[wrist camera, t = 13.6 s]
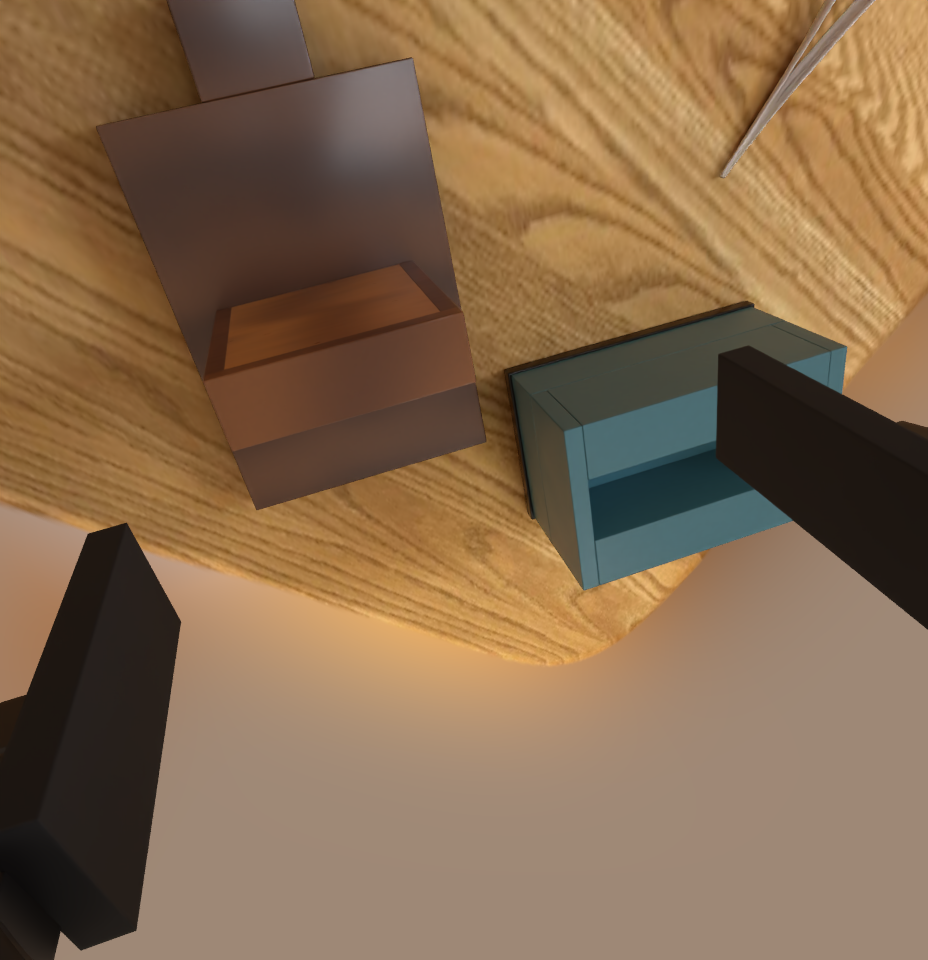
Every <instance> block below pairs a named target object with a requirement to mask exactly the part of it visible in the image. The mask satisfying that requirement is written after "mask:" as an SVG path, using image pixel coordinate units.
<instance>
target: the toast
mask: <svg viewBox="0 0 928 960" xmlns="http://www.w3.org/2000/svg"><path fill="white" fill-rule="evenodd" d="M475 382H476V377H475V372H474V366H473V361H472V356H471V351H470V345H469V340H468V335H467V330H466V325H465V319H464V314H463V312H462V310H461V309H460V308H459V307H458V306H457V305H456V304H455V303H454V302H453V301H452V300H451V299H450V298H449V297H448V296H447V295H446V294H445V293H444V292H443V291H442V290H441V289H440V288H439V287H438V286H437V285H436V284H435V283H434V282H433V281H432V280H431V279H430V278H429V277H428V276H427V275H426V274H425V273H424V272H423V271H422V270H421V269H420V268H419V267H418V266H417V265H416V263H415V262H414V261H409V262H405V263H401V264H398V265H394V266H390V267H386V268H383V269H379V270H375V271H371V272H367V273H363V274H359V275H355V276H351V277H348V278H344V279H340V280H336V281H332V282H328V283H324V284H320V285H317V286H313V287H309V288H305V289H301V290H297V291H293V292H289V293H286V294H282V295H278V296H274V297H270V298H266V299H262V300H258V301H254V302H251V303H247V304H243V305H239V306H235V307H230V308H226V309H222V310H218V311H216V315H215V321H214V326H213V331H212V336H211V341H210V347H209V352H208V357H207V362H206V367H205V373H204V378H203V384H204V386H205V389H206V391H207V394H208V396H209V398H210V401H211V403H212V406H213V408H214V410H215V413H216V415H217V417H218V420H219V422H220V425H221V427H222V429H223V432H224V434H225V436H226V439H227V441H228V444H229V446H230V448H231V450H232V451H236V450H240V449H243V448H247V447H250V446H254V445H257V444H261V443H264V442H268V441H271V440H275V439H278V438H282V437H285V436H289V435H292V434H296V433H300V432H303V431H307V430H310V429H314V428H317V427H321V426H324V425H328V424H331V423H335V422H338V421H342V420H345V419H349V418H352V417H356V416H359V415H363V414H366V413H370V412H373V411H377V410H380V409H384V408H387V407H391V406H394V405H398V404H401V403H405V402H408V401H412V400H415V399H419V398H422V397H426V396H429V395H433V394H436V393H440V392H443V391H447V390H450V389H454V388H457V387H461V386H464V385H468V384H471V383H475Z"/></svg>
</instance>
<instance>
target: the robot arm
mask: <svg viewBox="0 0 928 960" xmlns="http://www.w3.org/2000/svg"><path fill="white" fill-rule="evenodd" d="M716 458H717V459H718V460H719V461H720V462H722V463H723V464H724V465H725V466H727V467H728V468H729V469H730V470H732V471H733V472H734V473H735V474H736V475H738V476H739V477H740V478H741V479H743V480H744V481H745V482H746V483H748V484H749V485H750V486H751V487H752V488H754V489H755V490H756V491H757V492H759V493H760V494H761V495H762V496H764V497H765V498H766V499H767V500H769V501H770V502H771V503H772V504H773V505H775V506H776V507H777V508H778V509H780V510H781V511H782V512H783V513H785V514H786V515H787V516H788V517H789V518H791V519H792V520H793V521H794V522H796V523H797V524H798V525H799V526H801V527H802V528H803V529H804V530H806V531H807V532H808V533H809V534H810V535H812V536H813V537H814V538H815V539H817V540H818V541H819V542H820V543H822V544H823V545H824V546H825V547H826V548H828V549H829V550H830V551H831V552H833V553H834V554H835V555H836V556H838V557H839V558H840V559H841V560H842V561H844V562H845V563H846V564H848V565H849V566H850V567H851V568H852V569H854V570H855V571H856V572H857V573H859V574H860V575H861V576H862V577H864V578H865V579H866V580H867V581H868V582H870V583H871V584H872V585H873V586H875V587H876V588H877V589H878V590H879V591H881V592H882V593H883V594H885V595H886V596H887V597H888V598H889V599H891V600H892V601H893V602H895V603H896V604H897V605H898V606H899V607H900V608H902V609H903V610H904V611H905V612H907V613H908V614H909V615H910V616H912V617H913V618H914V619H915V620H917V621H918V622H919V623H920V624H921V625H923V626H924V627H925V628H926V629H928V427H924V426H920V425H916V424H912V423H908V422H905V421H900V422H897V423H896V422H894V421H892V420H890V419H888V418H886V417H884V416H882V415H880V414H878V413H877V412H875V411H873V410H871V409H869V408H867V407H865V406H863V405H861V404H860V403H858V402H856V401H854V400H852V399H850V398H848V397H846V396H844V395H842V394H841V393H839V392H837V391H835V390H833V389H831V388H829V387H827V386H825V385H823V384H822V383H820V382H818V381H816V380H814V379H812V378H810V377H808V376H806V375H805V374H803V373H801V372H799V371H797V370H795V369H793V368H791V367H789V366H787V365H786V364H784V363H782V362H780V361H778V360H776V359H774V358H772V357H770V356H768V355H767V354H765V353H763V352H761V351H759V350H757V349H755V348H753V347H751V346H749V345H748V346H744V347H741V348H737V349H734V350H730V351H727V352H723V353H720V354H718V383H717V428H716ZM180 625H181V621H180V619H179V617H178V615H177V613H176V612H175V610H174V608H173V606H172V604H171V602H170V601H169V599H168V597H167V595H166V593H165V592H164V590H163V588H162V586H161V584H160V582H159V581H158V579H157V577H156V575H155V573H154V571H153V570H152V568H151V566H150V564H149V562H148V561H147V559H146V557H145V555H144V553H143V551H142V550H141V548H140V546H139V544H138V542H137V541H136V539H135V537H134V535H133V533H132V531H131V530H130V528H129V526H128V524H127V523H124V524H121V525H117V526H114V527H110V528H107V529H103V530H100V531H96V532H93V533H89V534H88V535H87V538H86V540H85V543H84V545H83V548H82V551H81V553H80V556H79V559H78V561H77V564H76V566H75V569H74V571H73V574H72V577H71V579H70V582H69V585H68V587H67V590H66V592H65V595H64V598H63V600H62V603H61V606H60V608H59V611H58V613H57V616H56V619H55V621H54V624H53V627H52V630H51V632H50V634H49V637H48V640H47V642H46V645H45V648H44V650H43V653H42V655H41V658H40V661H39V663H38V666H37V669H36V671H35V674H34V677H33V679H32V682H31V684H30V687H29V690H28V692H27V695H24V696H21V697H17V698H14V699H11V700H8V701H4V702H1V703H0V960H54V957H55V953H56V948H57V944H58V940H59V936H60V931H61V932H62V933H64V935H66V937H68V939H70V940H71V941H72V942H73V943H74V944H75V945H76V946H77V947H78V948H79V949H80V950H83V949H86V948H89V947H92V946H95V945H97V944H100V943H103V942H106V941H109V940H112V939H114V938H117V937H120V936H123V935H125V934H128V933H131V932H134V931H136V929H137V922H138V915H139V908H140V901H141V895H142V887H143V881H144V874H145V867H146V859H147V853H148V846H149V839H150V832H151V825H152V818H153V812H154V805H155V798H156V790H157V784H158V777H159V769H160V763H161V755H162V749H163V742H164V736H165V729H166V721H167V715H168V708H169V701H170V694H171V687H172V680H173V673H174V666H175V659H176V652H177V645H178V639H179V632H180Z"/></svg>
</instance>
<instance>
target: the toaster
mask: <svg viewBox="0 0 928 960" xmlns="http://www.w3.org/2000/svg"><path fill="white" fill-rule="evenodd" d="M748 345H749V346H751V347H753V348H755V349H757V350H759V351H761V352H763V353H765V354H767V355H768V356H770V357H772V358H774V359H776V360H778V361H780V362H782V363H784V364H786V365H787V366H789V367H791V368H793V369H795V370H797V371H799V372H801V373H803V374H805V375H806V376H808V377H810V378H812V379H814V380H816V381H818V382H820V383H822V384H823V385H825V386H827V387H829V388H831V389H833V390H835V391H837V392H839V393H841V394H842V388H843V380H844V371H845V362H846V353H847V346H845V345H842V344H840V343H837V342H835V341H833V340H830V339H828V338H825V337H823V336H821V335H818V334H816V333H813V332H811V331H808V330H806V329H804V328H801V327H799V326H796V325H794V324H792V323H789V322H787V321H785V320H782V319H780V318H778V317H775V316H773V315H770V314H768V313H765V312H763V311H761V310H758V309H756V308H754V303H751V302H749V301H745V302H741V303H738V304H734V305H731V306H727V307H724V308H720V309H717V310H713V311H710V312H706V313H703V314H699V315H696V316H692V317H688V318H685V319H681V320H678V321H674V322H671V323H667V324H664V325H660V326H657V327H653V328H650V329H646V330H643V331H639V332H636V333H632V334H629V335H625V336H622V337H618V338H615V339H611V340H608V341H604V342H601V343H597V344H593V345H590V346H586V347H583V348H579V349H576V350H572V351H569V352H565V353H562V354H558V355H555V356H551V357H548V358H544V359H541V360H537V361H534V362H530V363H527V364H523V365H520V366H516V367H513V368H509V369H506V370H505V377H506V383H507V389H508V395H509V401H510V407H511V413H512V419H513V425H514V431H515V437H516V443H517V449H518V455H519V461H520V467H521V473H522V479H523V485H524V491H525V497H526V503H527V509H528V514H529V516H530V517H531V519H536V520H537V522H538V523H539V525H540V526H541V528H542V529H543V531H544V532H545V534H546V535H547V537H548V538H549V540H550V541H551V543H552V544H553V545H554V547H555V548H556V550H557V551H558V553H559V554H560V556H561V557H562V559H563V560H564V562H565V563H566V565H567V566H568V568H569V569H570V571H571V572H572V574H573V575H574V577H575V578H576V580H577V581H578V583H579V584H580V586H581V587H582V589H583V590H587V589H590V588H593V587H596V586H599V585H602V584H605V583H608V582H611V581H614V580H617V579H620V578H623V577H626V576H629V575H632V574H635V573H638V572H641V571H644V570H647V569H650V568H653V567H656V566H659V565H662V564H665V563H668V562H671V561H674V560H677V559H680V558H683V557H686V556H689V555H692V554H695V553H698V552H701V551H704V550H707V549H710V548H713V547H716V546H719V545H722V544H725V543H728V542H731V541H734V540H737V539H740V538H743V537H746V536H749V535H752V534H755V533H758V532H761V531H764V530H767V529H770V528H773V527H776V526H779V525H782V524H785V523H788V522H791V521H793V520H792V519H791V518H789V517H788V516H787V515H786V514H785V513H783V512H782V511H781V510H780V509H778V508H777V507H776V506H775V505H773V504H772V503H771V502H770V501H769V500H767V499H766V498H765V497H764V496H762V495H761V494H760V493H759V492H757V491H756V490H755V489H754V488H752V487H751V486H750V485H749V484H748V483H746V482H745V481H744V480H743V479H741V478H740V477H739V476H738V475H736V474H735V473H734V472H733V471H732V470H730V469H729V468H728V467H727V466H725V465H724V464H723V463H722V462H720V461H719V460H718V459H717V458H716V428H717V383H718V354H720V353H723V352H727V351H730V350H734V349H737V348H741V347H744V346H748Z"/></svg>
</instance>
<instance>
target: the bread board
mask: <svg viewBox="0 0 928 960" xmlns="http://www.w3.org/2000/svg"><path fill="white" fill-rule="evenodd" d="M167 3H168V6H169V9H170V12H171V15H172V18H173V21H174V24H175V27H176V29H177V32H178V35H179V38H180V41H181V44H182V47H183V50H184V53H185V56H186V59H187V62H188V65H189V68H190V70H191V73H192V76H193V79H194V82H195V85H196V88H197V91H198V94H199V97H200V100H201V102H203V103H200V104H195V105H191V106H186V107H182V108H177V109H172V110H168V111H163V112H159V113H154V114H149V115H145V116H140V117H136V118H131V119H126V120H122V121H117V122H113V123H108V124H104V125H99V126H96V129H97V131H98V134H99V136H100V138H101V141H102V143H103V145H104V148H105V150H106V153H107V155H108V157H109V160H110V162H111V164H112V167H113V169H114V172H115V174H116V176H117V179H118V181H119V184H120V186H121V188H122V191H123V193H124V195H125V198H126V200H127V203H128V205H129V207H130V210H131V212H132V215H133V217H134V219H135V222H136V224H137V226H138V229H139V231H140V234H141V236H142V238H143V241H144V243H145V246H146V248H147V250H148V253H149V255H150V257H151V260H152V262H153V265H154V267H155V269H156V272H157V274H158V276H159V279H160V281H161V284H162V286H163V288H164V291H165V293H166V296H167V298H168V300H169V303H170V305H171V307H172V310H173V312H174V315H175V317H176V319H177V322H178V324H179V327H180V329H181V331H182V334H183V336H184V338H185V341H186V343H187V346H188V348H189V350H190V353H191V355H192V358H193V360H194V362H195V365H196V367H197V369H198V372H199V374H200V377H201V379H202V381H203V378H204V373H205V367H206V362H207V357H208V352H209V347H210V341H211V336H212V331H213V326H214V321H215V315H216V311H218V310H222V309H226V308H230V307H235V306H239V305H243V304H247V303H251V302H254V301H258V300H262V299H266V298H270V297H274V296H278V295H282V294H286V293H289V292H293V291H297V290H301V289H305V288H309V287H313V286H317V285H320V284H324V283H328V282H332V281H336V280H340V279H344V278H348V277H351V276H355V275H359V274H363V273H367V272H371V271H375V270H379V269H383V268H386V267H390V266H394V265H398V264H401V263H405V262H409V261H414V262H415V263H416V265H417V266H418V267H419V268H420V269H421V270H422V271H423V272H424V273H425V274H426V275H427V276H428V277H429V278H430V279H431V280H432V281H433V282H434V283H435V284H436V285H437V286H438V287H439V288H440V289H441V290H442V291H443V292H444V293H445V294H446V295H447V296H448V297H449V298H450V299H451V300H452V301H453V302H454V303H455V304H456V305H457V306H458V307H459V308H460V309H461V306H460V300H459V295H458V290H457V285H456V280H455V274H454V269H453V264H452V259H451V254H450V248H449V243H448V238H447V233H446V228H445V222H444V217H443V212H442V207H441V202H440V196H439V191H438V186H437V181H436V176H435V171H434V165H433V160H432V155H431V150H430V145H429V139H428V134H427V129H426V124H425V119H424V113H423V108H422V103H421V98H420V93H419V87H418V82H417V77H416V72H415V67H414V61H413V58H406V59H402V60H397V61H393V62H388V63H383V64H379V65H374V66H370V67H365V68H360V69H356V70H351V71H347V72H342V73H337V74H333V75H328V76H324V77H319V78H315V79H313V78H314V73H313V70H312V66H311V62H310V58H309V54H308V50H307V47H306V43H305V39H304V35H303V31H302V27H301V24H300V20H299V16H298V12H297V8H296V4H295V1H294V0H167ZM485 442H486V435H485V430H484V425H483V420H482V415H481V409H480V404H479V399H478V394H477V389H476V383H471V384H468V385H464V386H461V387H457V388H454V389H450V390H447V391H443V392H440V393H436V394H433V395H429V396H426V397H422V398H419V399H415V400H412V401H408V402H405V403H401V404H398V405H394V406H391V407H387V408H384V409H380V410H377V411H373V412H370V413H366V414H363V415H359V416H356V417H352V418H349V419H345V420H342V421H338V422H335V423H331V424H328V425H324V426H321V427H317V428H314V429H310V430H307V431H303V432H300V433H296V434H292V435H289V436H285V437H282V438H278V439H275V440H271V441H268V442H264V443H261V444H257V445H254V446H250V447H247V448H243V449H240V450H236V451H232V453H233V455H234V458H235V460H236V462H237V465H238V467H239V470H240V472H241V474H242V477H243V479H244V481H245V484H246V486H247V489H248V491H249V493H250V496H251V498H252V501H253V503H254V505H255V508H256V510H259V509H263V508H266V507H270V506H273V505H276V504H280V503H283V502H286V501H290V500H293V499H296V498H300V497H303V496H307V495H310V494H313V493H317V492H320V491H323V490H327V489H330V488H333V487H337V486H340V485H344V484H347V483H350V482H354V481H357V480H360V479H364V478H367V477H370V476H374V475H377V474H380V473H384V472H387V471H391V470H394V469H397V468H401V467H404V466H407V465H411V464H414V463H417V462H421V461H424V460H428V459H431V458H434V457H438V456H441V455H444V454H448V453H451V452H454V451H458V450H461V449H465V448H468V447H471V446H475V445H478V444H481V443H485Z"/></svg>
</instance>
